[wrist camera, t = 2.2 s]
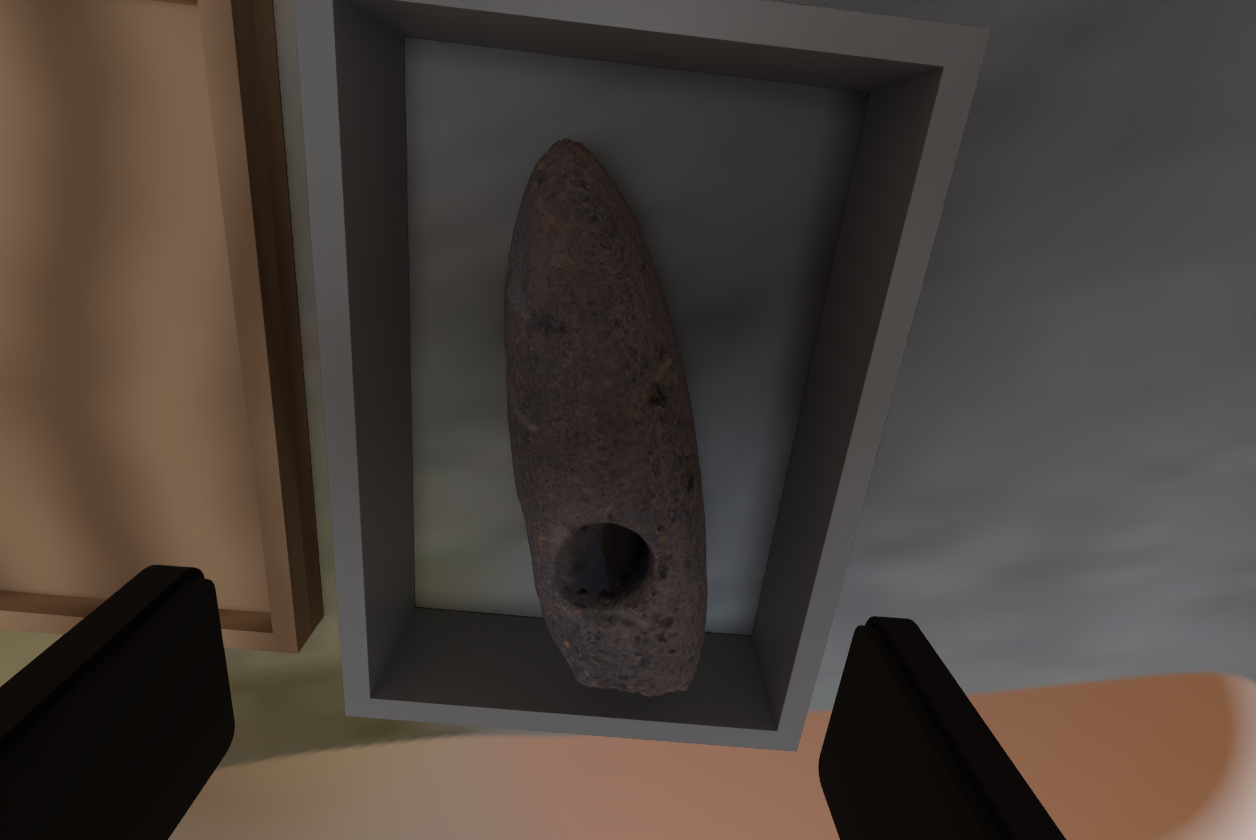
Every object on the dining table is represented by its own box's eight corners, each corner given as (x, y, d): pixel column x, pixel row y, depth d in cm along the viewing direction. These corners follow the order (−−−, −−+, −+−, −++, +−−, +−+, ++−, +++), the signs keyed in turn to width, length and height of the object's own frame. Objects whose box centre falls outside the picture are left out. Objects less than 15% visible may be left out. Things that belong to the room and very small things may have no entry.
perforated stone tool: (490, 152, 19) (416, 139, 12) (670, 133, 18) (693, 109, 12) (560, 582, 24) (535, 734, 17) (699, 570, 24) (727, 719, 17)
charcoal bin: (905, 63, 18) (992, 27, 13) (768, 654, 25) (796, 751, 21) (373, -1, 17) (289, -59, 13) (394, 622, 24) (345, 715, 20)
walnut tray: (270, -14, 17) (226, -37, 15) (323, 616, 24) (298, 653, 22) (-198, -71, 16) (-304, -102, 15) (0, 589, 24) (-53, 624, 22)
